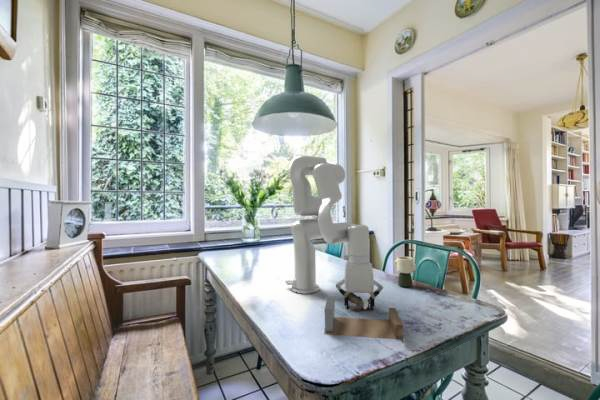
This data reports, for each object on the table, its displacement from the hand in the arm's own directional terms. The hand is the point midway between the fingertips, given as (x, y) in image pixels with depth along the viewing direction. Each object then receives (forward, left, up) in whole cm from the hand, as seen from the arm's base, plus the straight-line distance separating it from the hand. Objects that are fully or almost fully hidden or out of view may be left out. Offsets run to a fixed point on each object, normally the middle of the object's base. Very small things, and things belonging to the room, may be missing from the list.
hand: (359, 307), depth 99 cm
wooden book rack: (0, -15, -2) cm, 15 cm away
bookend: (-10, -15, 0) cm, 18 cm away
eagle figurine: (-1, 0, -2) cm, 2 cm away
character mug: (+22, +32, -2) cm, 39 cm away
